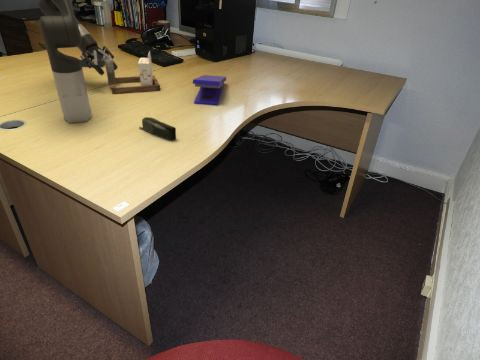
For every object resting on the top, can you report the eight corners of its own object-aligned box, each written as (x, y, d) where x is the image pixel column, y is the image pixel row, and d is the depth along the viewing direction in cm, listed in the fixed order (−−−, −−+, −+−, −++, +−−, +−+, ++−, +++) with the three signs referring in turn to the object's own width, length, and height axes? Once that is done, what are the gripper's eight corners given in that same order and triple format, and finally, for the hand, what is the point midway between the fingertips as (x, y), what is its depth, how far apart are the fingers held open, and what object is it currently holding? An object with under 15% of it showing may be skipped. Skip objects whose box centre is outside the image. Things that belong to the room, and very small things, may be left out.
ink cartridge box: (142, 83, 153) (138, 50, 145) (153, 83, 154) (150, 50, 145) (140, 90, 146) (137, 55, 138) (152, 90, 147) (149, 55, 139)
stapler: (192, 104, 138) (192, 81, 132) (202, 82, 161) (202, 61, 155) (220, 106, 137) (220, 83, 132) (226, 84, 160) (226, 63, 155)
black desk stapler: (177, 126, 109) (142, 113, 115) (171, 129, 107) (136, 116, 113) (177, 139, 112) (143, 126, 118) (171, 142, 110) (137, 129, 115)
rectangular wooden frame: (160, 90, 147) (158, 62, 140) (110, 93, 140) (105, 64, 133) (154, 79, 157) (152, 53, 151) (108, 82, 150) (103, 55, 144)
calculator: (107, 52, 179) (101, 58, 167) (108, 60, 181) (103, 67, 169) (85, 52, 177) (78, 58, 165) (86, 60, 180) (80, 67, 167)
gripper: (73, 36, 130) (102, 70, 134) (98, 30, 142) (124, 62, 145) (65, 48, 135) (94, 81, 138) (90, 41, 146) (116, 72, 150)
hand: (109, 71), depth 142 cm, fingers open, 8 cm apart
